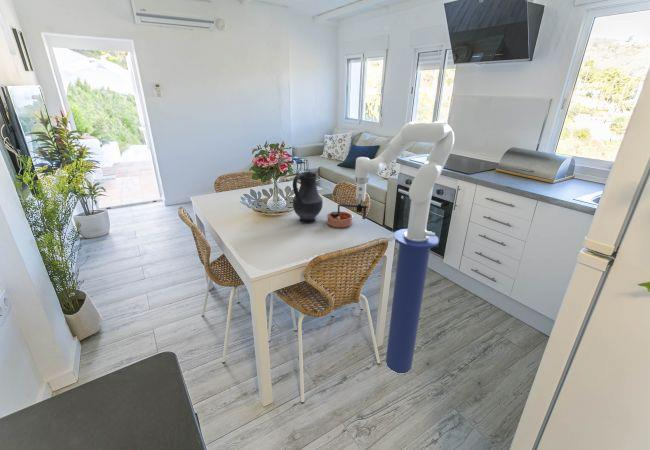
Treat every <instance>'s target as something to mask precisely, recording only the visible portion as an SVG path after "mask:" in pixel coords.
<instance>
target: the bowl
mask: <svg viewBox="0 0 650 450" xmlns="http://www.w3.org/2000/svg"><path fill="white" fill-rule="evenodd" d="M339 217H340V220H337V219H335V217H332V216H331V212H329V213H327V215H326V223H327V225H328V226H330V227H333V228H337V229H338V228H339V229H341V228H343V229H344V228H347V227H350V226H352V224H353V215H352V213H350V212H347V211H339Z"/></svg>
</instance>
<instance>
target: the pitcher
mask: <svg viewBox="0 0 650 450" xmlns="http://www.w3.org/2000/svg"><path fill="white" fill-rule="evenodd" d="M318 176H319V173H317V172H314V171H302V172H299V173H297V174H296V175H295V176H294V178H293V181H292V189H293V193H294V197H293V198H292V207H293V210H294V213H295V214H296V216H298V217H299V222H300V223H303V224H313V223H315V222H316V220H317V219H316V217H317V216H318V215H319V214H320V213H321V212H322V209H323V204H324V203H323V202H324V201H323V198H322V197H321V195H320V194H319V191H318V187H317V178H318ZM299 180H300V186H299V188H298V181H299Z"/></svg>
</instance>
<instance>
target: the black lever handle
mask: <svg viewBox="0 0 650 450" xmlns="http://www.w3.org/2000/svg"><path fill="white" fill-rule="evenodd" d="M340 207H345V208H346V207H347V208H357V204H352V203H351V204H350V203H339V204H337V211H332V212H330V213H331V216H332V217H339V212H340V210H341V209H340ZM368 207H369V206H368V205H364V204H363V206H362V220H366V216H367V209H368Z"/></svg>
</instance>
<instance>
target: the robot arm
mask: <svg viewBox="0 0 650 450" xmlns="http://www.w3.org/2000/svg"><path fill="white" fill-rule="evenodd" d="M414 143H434V144H433V147H432V148H431V150H430V152H429V154H428V157H427V159H426V161H424V163H423V164H421V166H419V168H418V170H417V172H416V174H415V176H414V178H413V180H412V182H411V185H410V187H409V189H408V197H409V199H410V208H409V214H408V222H407V223H408V224H407V229H408V230H407V232H405V233H404V237H405V238H406V239H408V240H411V241H415V242H423V241H426V240H428V236H435V235H436V232H433V231H432V230H430V231H429V230H427V229H428V228H427V227H428V221H429V213H430V207H431V201H432V197H433V193H434V192H433V191H434V186H435V184H436V182H437V180H438V179H439V177H440V176H441V174H442V171H443V169H444V167H445V165H446V163H447V161H448V159H449V157H450V155H451V152H452V150H453V147H454V143H455V133H454V131H453V129H452V127H451V126H450V124H448V123H447V122H446V121H443V120H438V121H437V120H436V121H431V122H418V121H410V122H407V123H405V124H404V125H403V126H402V128H401V129H400V132H398V133H397V134H396V135H395V136H394V137H393V138H392V139H391V140H390V141H389V142H388V145H387V147H386V148H385V149H384V150H383V151H382V153H380V154H379V155H378V156H377V157H375V158H371V159H370V158H369V157H367V156H358V157H357V158H356V159H355V168H354V169H355V170H354V171H355V172H354V183H355V184H356V189H355V201H356V202H357V204H356V205H357V207H356V212H357V213H363V208H362V206H363V205H364V204H363V202H366V197H367V195H366V194H367V185H368V184H369V178H370V177H369V176H370V174H372V175H373V174H374V175H376V174H378V173H380V172H382V171H384V170H385V169H386V168H387V167H388V166H390V165H391V164H392V163H393V162H394V161H395V160H396V159H397V158H398V157H400V156H401V155H402V154H403V153H404V152H405V151H406V150H407V149H408V148H409V147H411V146H412V145H413V144H414Z"/></svg>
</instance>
